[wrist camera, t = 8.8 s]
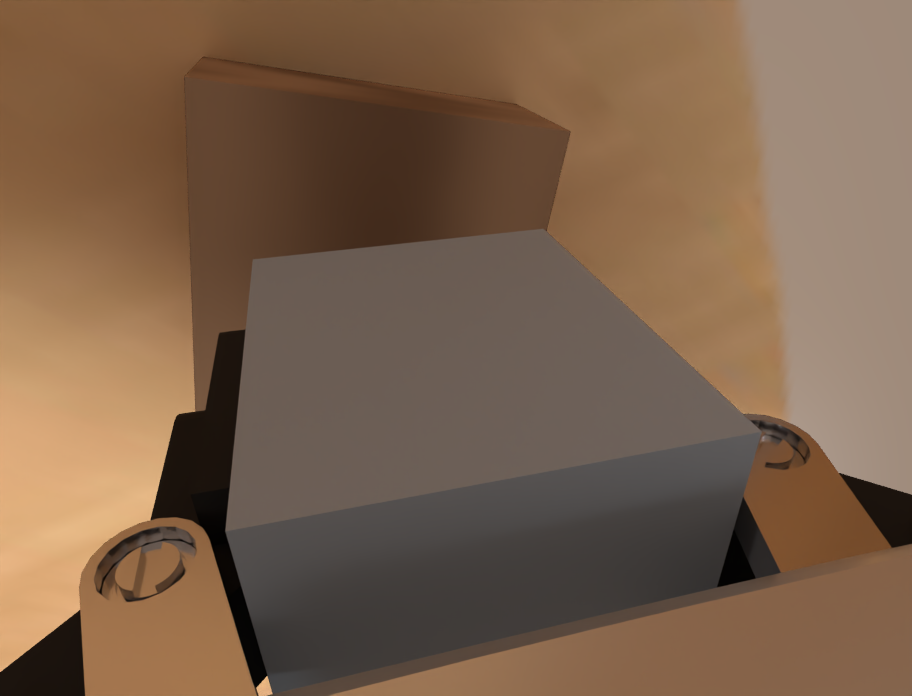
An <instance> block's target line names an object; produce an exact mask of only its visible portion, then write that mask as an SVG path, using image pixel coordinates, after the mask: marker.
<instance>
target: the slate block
mask: <svg viewBox="0 0 912 696" xmlns="http://www.w3.org/2000/svg"><path fill="white" fill-rule="evenodd" d="M761 433H762V431H761V430H759V429H758V428H757V427H756V426H755V425H754V424H753V423H752V422H751V421H750V420H749V419H748V418H747V417H745V416H744V415H743V414H742V413H741V412H740V411H739V410H738V409H737V408H736V407H735V406H734V405H733V404H731V403H730V402H729V401H728V400H727V399H726V398H725V397H724V396H723V395H722V394H721V393H720V392H719V391H718V390H716V389H715V388H714V387H713V386H712V385H711V384H710V383H709V382H708V381H707V380H706V379H705V378H704V377H702V376H701V375H700V374H699V373H698V372H697V371H696V370H695V369H694V368H693V367H692V366H691V365H690V364H688V363H687V362H686V361H685V360H684V359H683V358H682V357H681V356H680V355H679V354H678V353H677V352H676V351H674V350H673V349H672V348H671V347H670V346H669V345H668V344H667V343H666V342H665V341H664V340H663V339H662V338H660V337H659V336H658V335H657V334H656V333H655V332H654V331H653V330H652V329H651V328H650V327H649V326H648V325H646V324H645V323H644V322H643V321H642V320H641V319H640V318H639V317H638V316H637V315H636V314H635V313H634V312H633V311H631V310H630V309H629V308H628V307H627V306H626V305H625V304H624V303H623V302H622V301H621V300H620V299H619V298H617V297H616V296H615V295H614V294H613V293H612V292H611V291H610V290H609V289H608V288H607V287H606V286H605V285H603V284H602V283H601V282H600V281H599V280H598V279H597V278H596V277H595V276H594V275H593V274H592V273H591V272H589V271H588V270H587V269H586V268H585V267H584V266H583V265H582V264H581V263H580V262H579V261H578V260H577V259H575V258H574V257H573V256H572V255H571V254H570V253H569V252H568V251H567V250H566V249H565V248H564V247H563V246H562V245H560V244H559V243H558V242H557V241H556V240H555V239H554V238H553V237H552V236H551V235H550V234H549V233H548V232H546V231H545V230H544V229H536V230H526V231H517V232H507V233H498V234H488V235H479V236H470V237H460V238H451V239H441V240H432V241H422V242H413V243H403V244H394V245H385V246H375V247H366V248H356V249H347V250H337V251H328V252H318V253H309V254H300V255H290V256H281V257H271V258H262V259H253V262H252V272H251V282H250V292H249V302H248V312H247V322H246V331H245V341H244V351H243V361H242V371H241V381H240V391H239V401H238V411H237V421H236V431H235V441H234V450H233V460H232V470H231V480H230V490H229V500H228V510H227V520H226V530H225V532H226V535H227V539H228V542H229V546H230V549H231V552H232V556H233V559H234V563H235V566H236V570H237V573H238V576H239V580H240V583H241V587H242V590H243V593H244V597H245V600H246V604H247V607H248V611H249V614H250V617H251V621H252V624H253V628H254V631H255V635H256V638H257V641H258V645H259V648H260V652H261V655H262V658H263V662H264V665H265V669H266V672H267V676H268V679H269V682H270V686H271V689H272V693H273V694H276V693H280V692H284V691H288V690H292V689H296V688H300V687H304V686H308V685H313V684H317V683H321V682H325V681H329V680H333V679H337V678H341V677H345V676H349V675H354V674H358V673H362V672H366V671H370V670H374V669H378V668H382V667H386V666H391V665H395V664H399V663H403V662H407V661H411V660H415V659H419V658H423V657H427V656H432V655H436V654H440V653H444V652H448V651H452V650H456V649H460V648H464V647H469V646H473V645H477V644H481V643H485V642H489V641H494V640H498V639H502V638H506V637H510V636H515V635H519V634H523V633H527V632H531V631H536V630H540V629H544V628H548V627H552V626H556V625H561V624H565V623H569V622H573V621H577V620H582V619H586V618H590V617H594V616H599V615H603V614H607V613H611V612H615V611H620V610H624V609H628V608H632V607H637V606H641V605H645V604H649V603H653V602H658V601H662V600H666V599H670V598H675V597H679V596H683V595H687V594H692V593H696V592H700V591H705V590H709V589H713V588H717V585H718V582H719V578H720V575H721V571H722V568H723V564H724V561H725V557H726V554H727V550H728V547H729V544H730V540H731V537H732V533H733V530H734V526H735V523H736V519H737V516H738V512H739V509H740V505H741V502H742V498H743V495H744V492H745V488H746V485H747V481H748V478H749V474H750V471H751V467H752V464H753V460H754V457H755V453H756V450H757V446H758V443H759V439H760V436H761Z"/></svg>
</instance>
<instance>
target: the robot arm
mask: <svg viewBox="0 0 912 696" xmlns="http://www.w3.org/2000/svg"><path fill="white" fill-rule="evenodd" d="M245 331H246V329H244V330H236V331H228V332H220V333H219V335H218V341H217V346H216V352H215V358H214V363H213V369H212V375H211V380H210V386H209V392H208V397H207V403H206V409H205V410H203V411H197V412H190V413H183V414H179V415H177V416H176V419H175V422H174V426H173V430H172V434H171V438H170V442H169V446H168V450H167V454H166V459H165V463H164V467H163V471H162V475H161V479H160V483H159V487H158V492H157V496H156V500H155V504H154V508H153V512H152V516H151V520H150V521H146V522H142V523H139V524H137V525H135V526H132V527H130V528H128V529H126V530H124V531H121V532H120V533H118V534H117V535H116V536H114V537H113V538H111V539H110V540H108V541H107V542H105V543H104V544H103V545H102V546H101V547H100V548H99V549H98V550H97V551H96V552H95V553H94V554H93V555H92V556H91V557H90V559H89V561H88V563H87V564H86V566H85V568H84V570H83V571H82V574H81V579H80V585H79V596H80V610H79V611H78V612H77V613H76V614H74V615H73V616H72V617H70V618H69V619H68V620H67V621H65V622H64V623H63V624H62V625H60V626H59V627H58V628H56V629H55V630H54V631H53V632H51V633H50V634H49V635H47V636H46V637H45V638H44V639H42V640H41V641H40V642H39V643H37V644H36V645H35V646H33V647H32V648H31V649H30V650H28V651H27V652H26V653H24V654H23V655H22V656H21V657H19V658H18V659H17V660H15V661H14V662H13V663H12V664H10V665H9V666H8V667H7V668H5V669H4V670H3V671H1V672H0V696H258V692H257V689H256V687H257V686H258V685H259V684H260V683H261V682H262V681H263V680H264V679H265V677H266V676H267V672H266V669H265V665H264V662H263V658H262V655H261V652H260V648H259V645H258V641H257V638H256V635H255V631H254V628H253V624H252V621H251V617H250V614H249V611H248V607H247V604H246V600H245V597H244V593H243V590H242V587H241V583H240V580H239V576H238V573H237V570H236V566H235V563H234V559H233V556H232V552H231V549H230V546H229V542H228V539H227V535H226V532H225V530H226V520H227V510H228V500H229V490H230V480H231V470H232V460H233V450H234V441H235V431H236V421H237V411H238V401H239V391H240V381H241V371H242V361H243V351H244V341H245ZM743 415H744V416H745V417H747V418H748V419H749V420H750V421H751V422H752V423H753V424H754V425H755V426H756V427H757V428H758V429H759V430H761V431H762V433H761V436H760V439H759V443H758V446H757V450H756V453H755V457H754V460H753V464H752V467H751V471H750V474H749V478H748V481H747V485H746V488H745V492H744V495H743V498H742V502H741V505H740V509H739V512H738V516H737V519H736V523H735V526H734V530H733V533H732V537H731V540H730V544H729V547H728V550H727V554H726V557H725V561H724V564H723V568H722V571H721V575H720V578H719V582H718V585H717V588H713V589H709V590H705V591H700V592H696V593H692V594H687V595H683V596H679V597H675V598H670V599H666V600H662V601H658V602H653V603H649V604H645V605H641V606H637V607H632V608H628V609H624V610H620V611H615V612H611V613H607V614H603V615H599V616H594V617H590V618H586V619H582V620H577V621H573V622H569V623H565V624H561V625H556V626H552V627H548V628H544V629H540V630H536V631H531V632H527V633H523V634H519V635H515V636H510V637H506V638H502V639H498V640H494V641H489V642H485V643H481V644H477V645H473V646H469V647H464V648H460V649H456V650H452V651H448V652H444V653H440V654H436V655H432V656H427V657H423V658H419V659H415V660H411V661H407V662H403V663H399V664H395V665H391V666H386V667H382V668H378V669H374V670H370V671H366V672H362V673H358V674H354V675H349V676H345V677H341V678H337V679H333V680H329V681H325V682H321V683H317V684H313V685H308V686H304V687H300V688H296V689H292V690H288V691H284V692H280V693H276V694H272V695H268V696H912V495H911V494H907V493H904V492H901V491H897V490H894V489H891V488H887V487H884V486H881V485H877V484H874V483H871V482H867V481H864V480H861V479H857V478H854V477H850V476H847V475H844V474H841V473H838V471H837V470H836V469H835V467H834V466H833V465H832V463H831V462H830V460H829V459H828V457H827V456H826V455H825V453H824V452H823V450H822V449H821V448H820V446H819V445H818V443H817V442H816V441H815V440H814V439H813V438H812V437H811V436H810V435H809V434H807V433H806V432H804V431H803V430H801V429H800V428H798V427H797V426H795V425H793V424H790V423H788V422H786V421H783V420H781V419H777V418H773V417H770V416H766V415H757V414H743Z"/></svg>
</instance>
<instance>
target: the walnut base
mask: <svg viewBox="0 0 912 696" xmlns="http://www.w3.org/2000/svg"><path fill="white" fill-rule="evenodd" d="M184 80H185V110H186V140H187V171H188V201H189V231H190V261H191V292H192V322H193V352H194V383H195V412H197V411H203V410H205V409H206V403H207V397H208V392H209V386H210V380H211V375H212V369H213V363H214V358H215V352H216V346H217V341H218V335H219V333H220V332H228V331H236V330H244V329H246V322H247V312H248V302H249V292H250V282H251V272H252V262H253V259H262V258H271V257H281V256H290V255H300V254H309V253H318V252H328V251H337V250H347V249H356V248H366V247H375V246H385V245H394V244H403V243H413V242H422V241H432V240H441V239H451V238H460V237H470V236H479V235H488V234H498V233H507V232H517V231H526V230H536V229H544V230H545V231H547V227H548V223H549V218H550V214H551V210H552V206H553V202H554V198H555V194H556V190H557V186H558V181H559V177H560V173H561V169H562V165H563V161H564V157H565V153H566V149H567V144H568V140H569V136H570V131H568V130H566V129H564V128H562V127H560V126H558V125H556V124H554V123H553V122H551V121H549V120H547V119H545V118H543V117H541V116H539V115H537V114H535V113H533V112H531V111H529V110H527V109H525V108H523V107H521V106H519V105H517V104H511V103H504V102H498V101H491V100H484V99H478V98H471V97H465V96H458V95H451V94H445V93H438V92H432V91H425V90H418V89H412V88H405V87H399V86H392V85H385V84H379V83H372V82H366V81H359V80H353V79H346V78H339V77H333V76H326V75H320V74H313V73H306V72H300V71H293V70H287V69H280V68H273V67H267V66H260V65H254V64H247V63H240V62H234V61H227V60H221V59H214V58H208V57H203V58H202V59H201V60H200V61H199V62H198V63H197V64H196V65H195V66H194V67H193V68H192V69H191V70H190V71H189V72H188V74H187V75H186V76H185V77H184Z"/></svg>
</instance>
